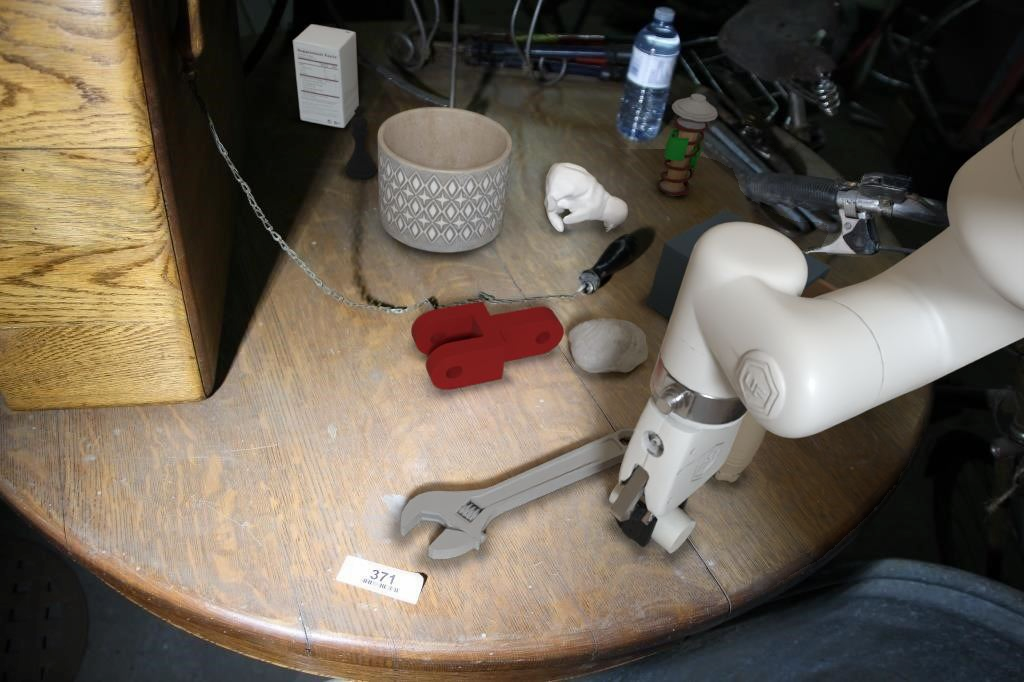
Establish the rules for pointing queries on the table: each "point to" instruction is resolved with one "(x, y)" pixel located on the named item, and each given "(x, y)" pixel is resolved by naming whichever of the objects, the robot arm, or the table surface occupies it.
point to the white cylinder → (666, 524)
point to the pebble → (608, 345)
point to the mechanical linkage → (481, 341)
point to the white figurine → (580, 198)
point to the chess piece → (360, 150)
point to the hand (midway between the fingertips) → (649, 518)
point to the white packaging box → (326, 75)
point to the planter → (443, 178)
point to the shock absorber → (685, 143)
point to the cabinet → (678, 258)
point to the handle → (742, 449)
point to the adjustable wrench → (505, 496)
